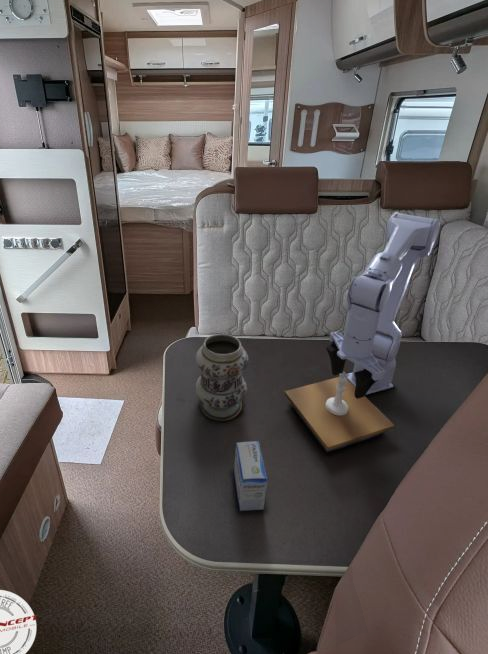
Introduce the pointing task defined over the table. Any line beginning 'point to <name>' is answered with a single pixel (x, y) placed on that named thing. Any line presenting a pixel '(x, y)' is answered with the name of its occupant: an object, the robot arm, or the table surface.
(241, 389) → the apothecary jar
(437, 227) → the robot arm
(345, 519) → the table surface
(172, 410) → the table surface
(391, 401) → the table surface
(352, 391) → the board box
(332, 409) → the chess piece
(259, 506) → the medicine box
